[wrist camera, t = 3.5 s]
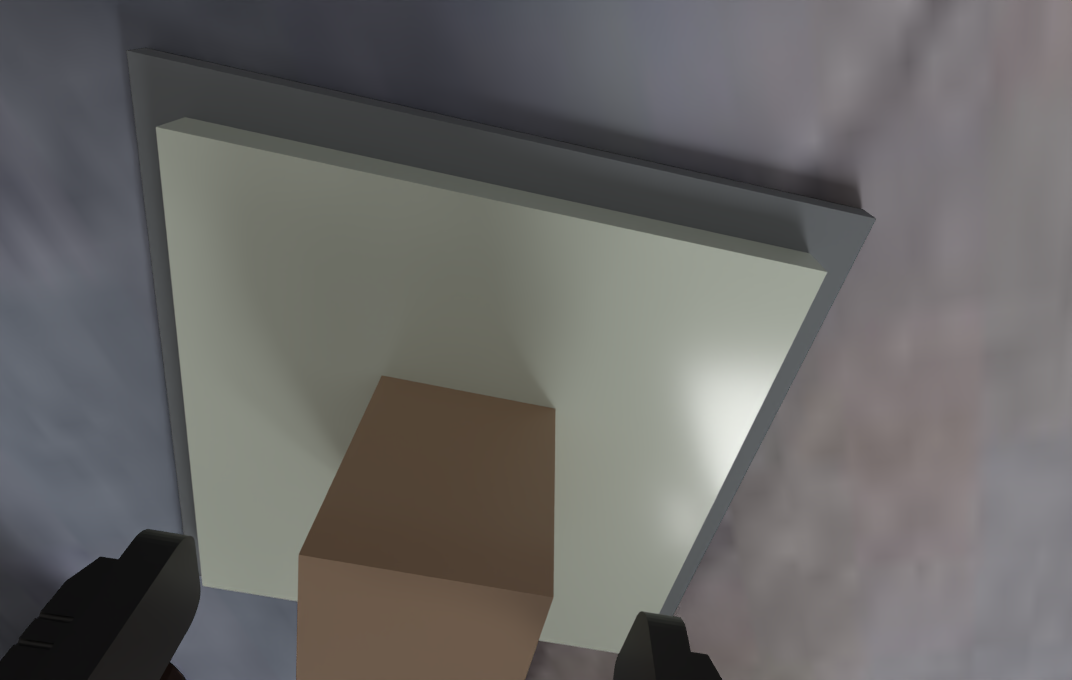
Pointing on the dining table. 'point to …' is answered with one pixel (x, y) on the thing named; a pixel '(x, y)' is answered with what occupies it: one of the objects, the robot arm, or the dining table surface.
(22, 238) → the dining table surface
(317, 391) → the lid
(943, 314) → the dining table surface
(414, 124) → the mat
